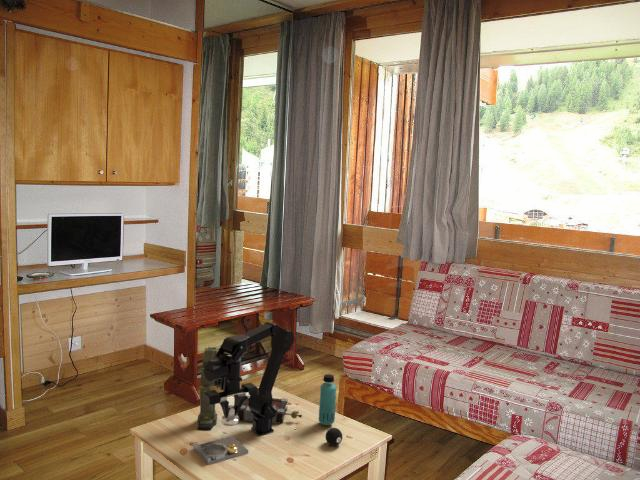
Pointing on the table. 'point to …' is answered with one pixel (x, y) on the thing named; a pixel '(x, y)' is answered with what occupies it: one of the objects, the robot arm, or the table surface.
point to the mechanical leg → (207, 411)
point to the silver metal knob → (230, 417)
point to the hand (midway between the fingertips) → (230, 416)
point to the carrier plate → (220, 450)
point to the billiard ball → (333, 436)
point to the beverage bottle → (327, 400)
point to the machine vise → (277, 404)
